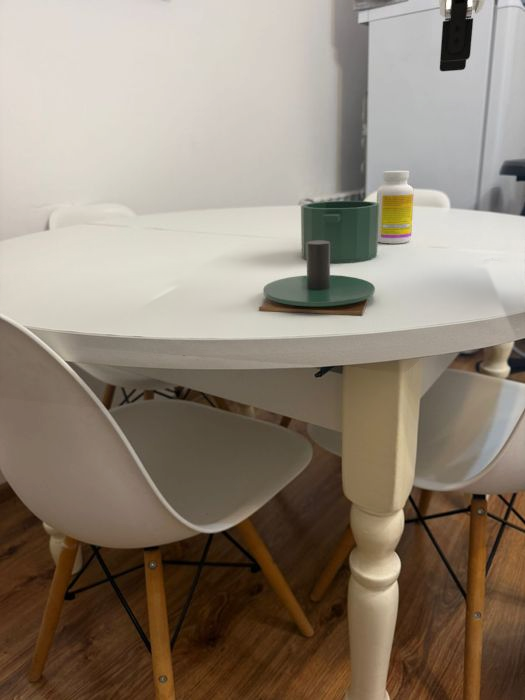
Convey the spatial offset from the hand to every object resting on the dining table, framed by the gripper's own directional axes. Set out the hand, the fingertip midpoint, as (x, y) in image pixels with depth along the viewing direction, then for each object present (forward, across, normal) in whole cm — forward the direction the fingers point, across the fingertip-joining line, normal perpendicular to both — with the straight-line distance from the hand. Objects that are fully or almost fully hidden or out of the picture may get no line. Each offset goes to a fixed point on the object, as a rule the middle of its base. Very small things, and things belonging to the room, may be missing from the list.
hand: (453, 65), depth 66 cm
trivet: (+26, -14, +14) cm, 33 cm away
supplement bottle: (+26, +29, +8) cm, 40 cm away
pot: (+26, +14, +16) cm, 34 cm away
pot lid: (+25, -14, +14) cm, 32 cm away
